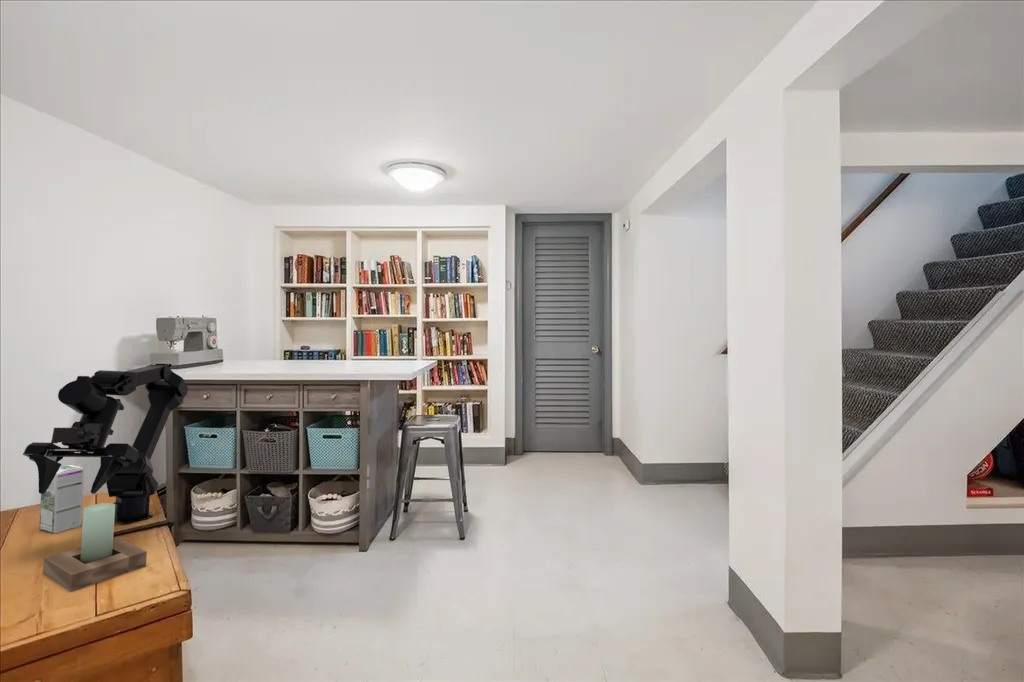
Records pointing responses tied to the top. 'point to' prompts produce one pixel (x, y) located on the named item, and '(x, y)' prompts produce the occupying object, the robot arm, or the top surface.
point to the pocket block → (93, 565)
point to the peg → (97, 532)
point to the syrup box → (63, 500)
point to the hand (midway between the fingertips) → (67, 493)
